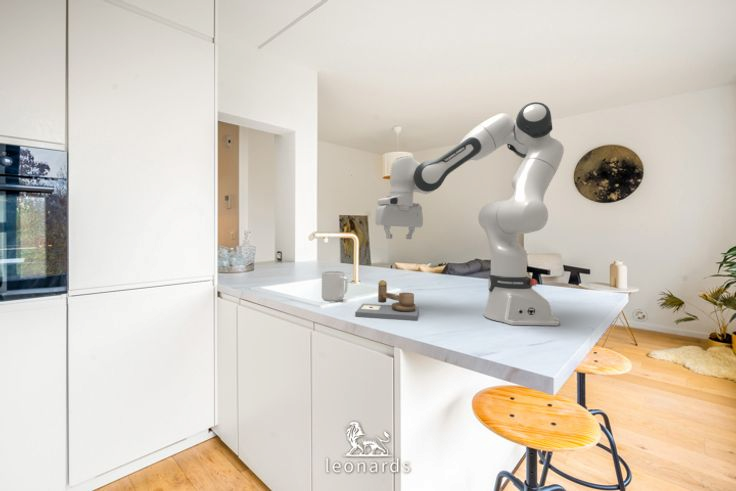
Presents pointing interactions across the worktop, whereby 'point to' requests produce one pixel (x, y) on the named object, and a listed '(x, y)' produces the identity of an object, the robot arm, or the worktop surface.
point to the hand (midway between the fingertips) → (399, 238)
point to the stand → (385, 312)
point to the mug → (333, 285)
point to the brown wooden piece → (396, 298)
